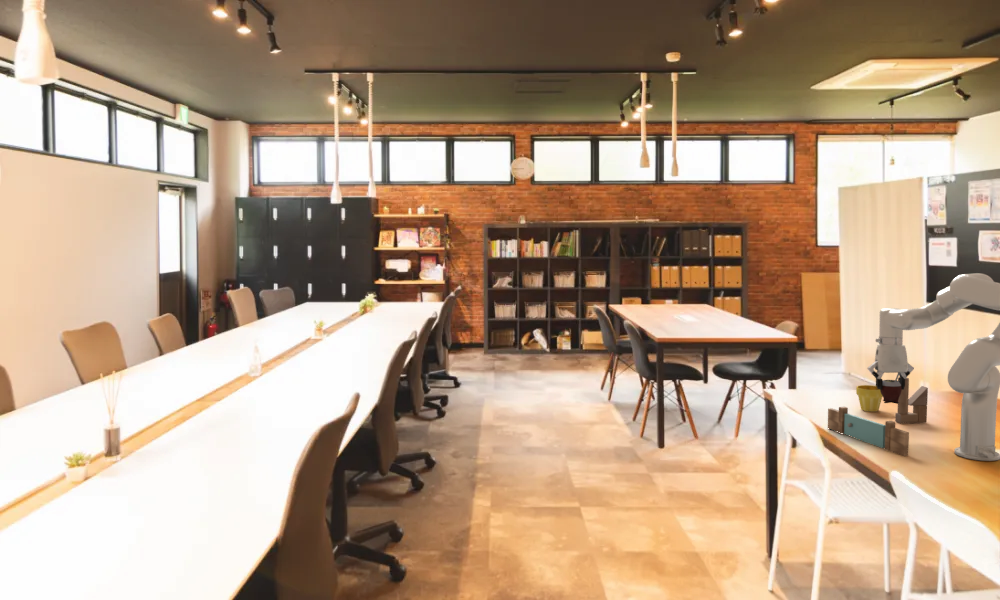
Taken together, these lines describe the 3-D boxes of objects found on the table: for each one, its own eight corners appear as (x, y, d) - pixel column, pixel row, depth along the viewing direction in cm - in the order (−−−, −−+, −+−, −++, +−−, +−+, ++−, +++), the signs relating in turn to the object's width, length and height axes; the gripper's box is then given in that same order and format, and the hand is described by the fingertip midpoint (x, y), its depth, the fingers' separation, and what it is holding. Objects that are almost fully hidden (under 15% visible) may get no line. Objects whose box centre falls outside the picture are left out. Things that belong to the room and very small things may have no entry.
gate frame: (909, 455, 230) (910, 426, 229) (903, 456, 230) (904, 426, 229) (832, 428, 265) (832, 403, 264) (826, 429, 264) (827, 403, 263)
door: (885, 447, 239) (886, 425, 238) (880, 448, 239) (880, 425, 238) (846, 434, 256) (847, 413, 256) (841, 434, 256) (842, 413, 255)
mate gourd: (875, 401, 257) (875, 361, 256) (890, 399, 260) (890, 360, 259) (893, 405, 250) (893, 364, 250) (908, 402, 253) (908, 362, 252)
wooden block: (927, 423, 270) (928, 378, 268) (900, 423, 269) (901, 378, 268) (920, 420, 274) (922, 376, 272) (894, 421, 273) (896, 377, 272)
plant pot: (859, 412, 288) (860, 389, 287) (853, 406, 298) (853, 384, 297) (886, 413, 286) (887, 390, 285) (879, 407, 296) (879, 385, 295)
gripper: (871, 343, 251) (870, 391, 252) (920, 342, 250) (920, 390, 251) (862, 340, 259) (861, 387, 260) (910, 339, 257) (909, 386, 258)
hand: (890, 388), depth 255 cm, fingers closed on mate gourd, 7 cm apart
